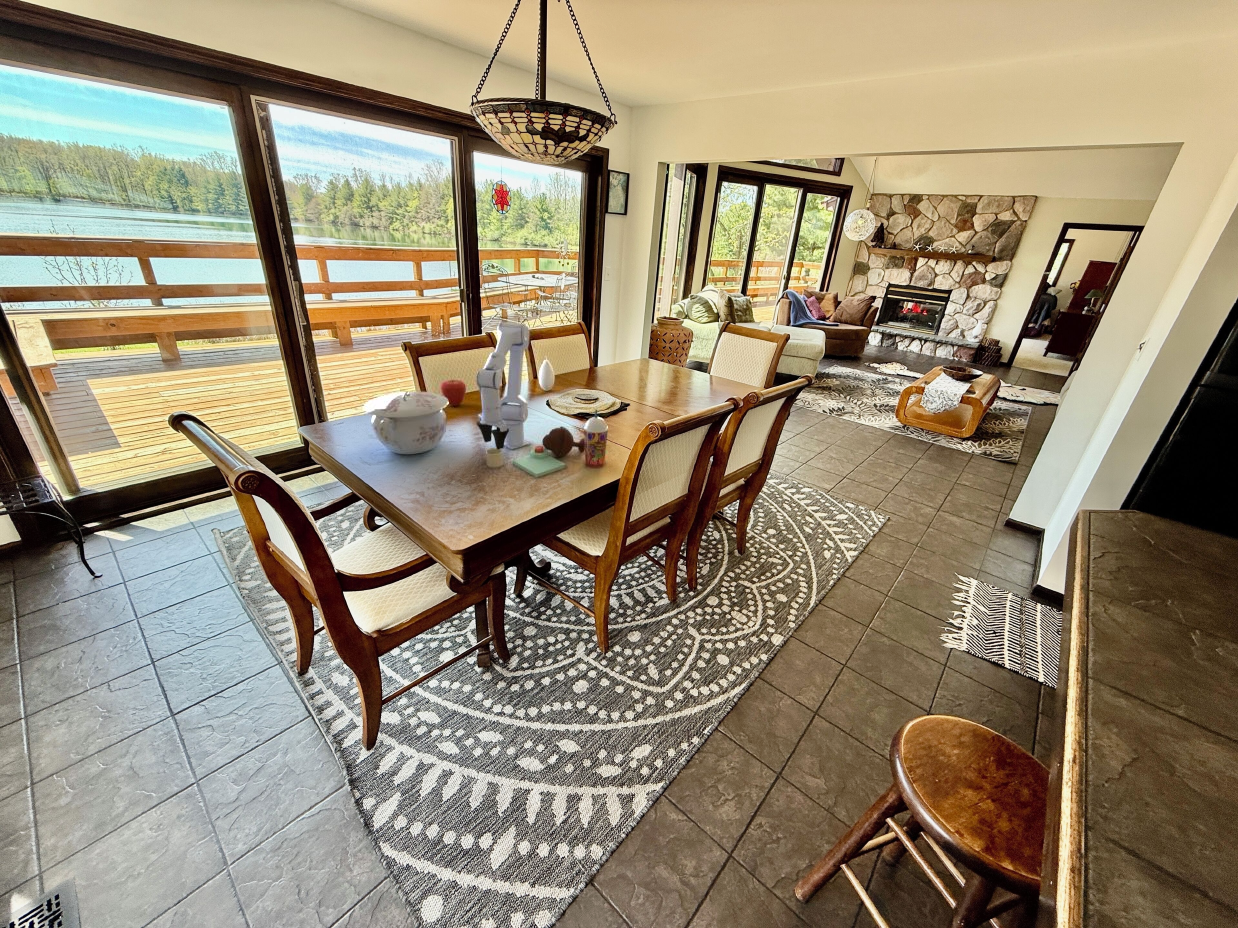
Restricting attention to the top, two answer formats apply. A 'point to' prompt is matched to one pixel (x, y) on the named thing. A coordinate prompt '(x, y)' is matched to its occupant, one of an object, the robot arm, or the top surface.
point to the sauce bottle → (546, 376)
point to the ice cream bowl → (561, 442)
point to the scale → (538, 463)
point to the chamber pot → (408, 420)
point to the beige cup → (494, 457)
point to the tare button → (539, 449)
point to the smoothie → (595, 441)
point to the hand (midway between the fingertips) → (493, 445)
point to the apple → (453, 391)
